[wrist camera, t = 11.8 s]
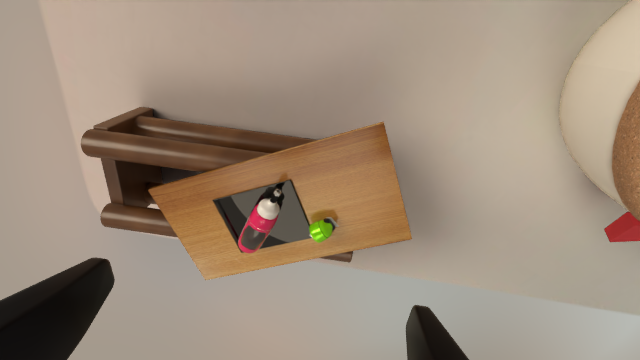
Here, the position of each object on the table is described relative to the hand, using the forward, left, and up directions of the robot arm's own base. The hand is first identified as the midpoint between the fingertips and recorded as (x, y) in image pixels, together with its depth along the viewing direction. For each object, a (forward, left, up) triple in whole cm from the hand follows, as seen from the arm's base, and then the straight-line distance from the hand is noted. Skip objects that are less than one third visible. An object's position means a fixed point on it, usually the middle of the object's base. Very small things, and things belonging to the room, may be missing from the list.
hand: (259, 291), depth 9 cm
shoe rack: (+2, +4, -12) cm, 12 cm away
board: (0, +2, -7) cm, 7 cm away
